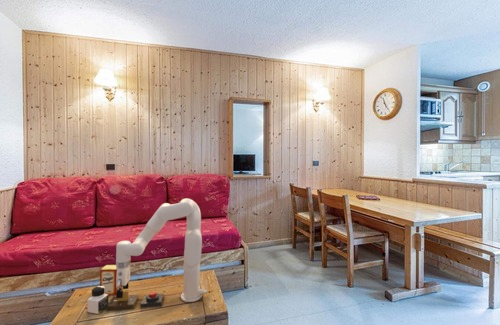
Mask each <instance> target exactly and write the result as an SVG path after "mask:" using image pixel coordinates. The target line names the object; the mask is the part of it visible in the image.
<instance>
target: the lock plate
mask: <svg viewBox="0 0 500 325" xmlns="http://www.w3.org/2000/svg"><path fill="white" fill-rule="evenodd" d="M139 297H140V296H139V294H129V299H128V301H118V298H116V295H112V297H111V299H110V300H109V301H108V305H107V307H106V309H105V310H106V312H109V311H121V310H133V309H135V307H136V304H137V303H138V300H139Z"/></svg>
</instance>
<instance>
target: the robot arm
mask: <svg viewBox="0 0 500 325" xmlns="http://www.w3.org/2000/svg"><path fill="white" fill-rule="evenodd" d="M182 218H186V228H185V235H184V250H183V291H182V293H181V294H180V300H181V301H183V302H184V303H194V302H197V301H199V300H201V299H202V297H203V295H206V294H208V290H207V289H206V288H201V285H200V282H201V259H202V249H203V237H202V231H201V229H202V228H201V227H202V213H201V209H200V206H199V205H198V204H197V202H195V201H194V200H193V199H192V198H182V199H181V200H180V201H179V202H178V203H173V204H171V203H168V202H164V203H162V204H161V205H160V206H159V207H158V209H157V210H156V211H155V212H154V213H153V215H152V216H151V218H150V219H149V220H148V221H147V223H146V224H145V226H144V227H143V229H142V231H141V232H140V233H139V234H138V236H137V237H136V238H135V240H134V241H133V242H131V241H130V240H121V241H119V242H117V243H116V246H115V248H116V249H115V253H116V254H115V265H116V268H117V276H116V288H117V289H116V295H115V296H116V298H122V297H123V291H124V290H129V284H130V281H131V266H132V265H131V264H132V262H131V260H132V259H131V258H132V257H138V256H141V255H142V254H143V253H144V251H145V250H146V248H147V246H148V244H149V243H150V242H151V240H152V239H153V238H154V237H155V235H156V234H158V233H160V232H161V230H162V229H163V228H164V226H165V224H166V223H167V222H168V221H173V220H177V219H182ZM120 284H121V285H120ZM120 287H121V288H120Z"/></svg>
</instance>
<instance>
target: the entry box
mask: <svg viewBox="0 0 500 325" xmlns="http://www.w3.org/2000/svg"><path fill="white" fill-rule="evenodd" d="M164 297H165V294H164V293H158V292H156V296H155V297H152V298H151V297H149V293H148V294H144V295H143V298H142V300H141V302H140V308H153V307H162V304H163V301H164Z"/></svg>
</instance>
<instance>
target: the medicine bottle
mask: <svg viewBox="0 0 500 325" xmlns="http://www.w3.org/2000/svg"><path fill="white" fill-rule="evenodd" d="M108 303H109V295H108V294H105V287H103V286H100V285H98V286H95V287H93V288H92V289H91V297H88V299H87V313H91V314H97V315H99V314H100V313H102V312H103V311H105V310H106V307H107V305H108Z"/></svg>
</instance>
